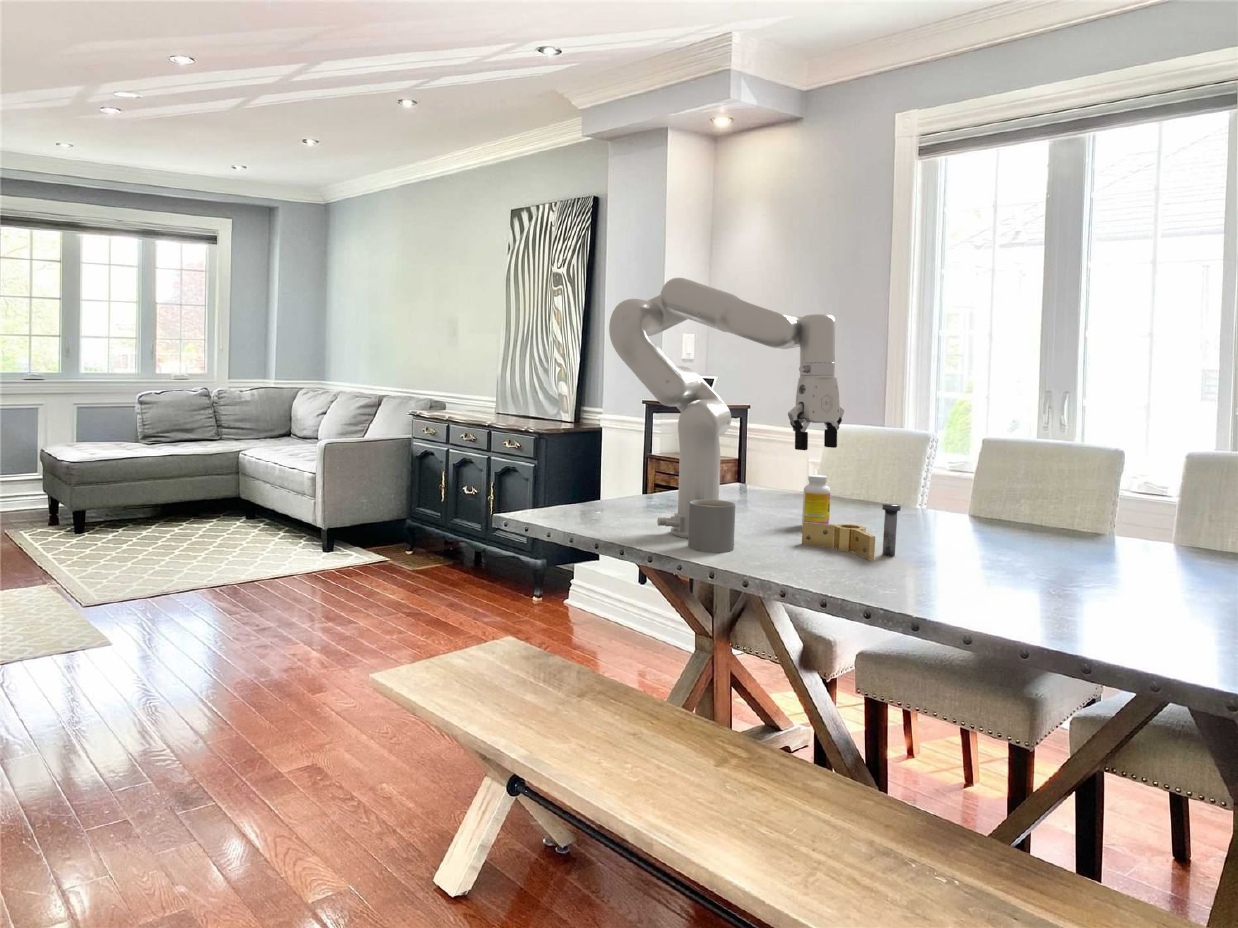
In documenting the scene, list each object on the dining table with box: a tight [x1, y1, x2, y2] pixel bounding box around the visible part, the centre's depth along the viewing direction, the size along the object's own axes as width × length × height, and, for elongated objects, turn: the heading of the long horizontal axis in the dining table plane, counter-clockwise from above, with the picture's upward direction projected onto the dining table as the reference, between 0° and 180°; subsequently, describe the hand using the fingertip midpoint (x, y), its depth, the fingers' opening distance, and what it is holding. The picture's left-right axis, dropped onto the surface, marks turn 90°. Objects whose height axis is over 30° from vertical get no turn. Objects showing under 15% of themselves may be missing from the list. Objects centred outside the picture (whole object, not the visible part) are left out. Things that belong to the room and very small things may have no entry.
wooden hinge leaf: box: [801, 522, 836, 549], centre depth 210 cm, size 7×2×5 cm, turn 65°
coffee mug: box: [687, 499, 736, 554], centre depth 205 cm, size 13×10×10 cm
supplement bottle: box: [801, 474, 832, 525], centre depth 233 cm, size 7×7×13 cm
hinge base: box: [833, 523, 876, 561], centre depth 203 cm, size 6×14×5 cm, turn 10°
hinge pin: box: [881, 503, 902, 558], centre depth 201 cm, size 4×4×11 cm
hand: (816, 448), depth 207 cm, fingers open, 9 cm apart
